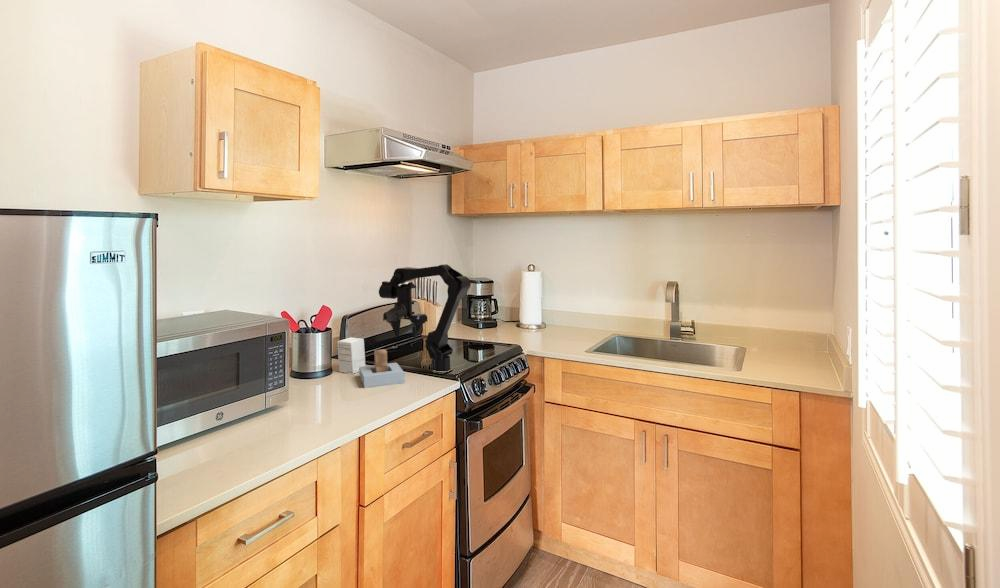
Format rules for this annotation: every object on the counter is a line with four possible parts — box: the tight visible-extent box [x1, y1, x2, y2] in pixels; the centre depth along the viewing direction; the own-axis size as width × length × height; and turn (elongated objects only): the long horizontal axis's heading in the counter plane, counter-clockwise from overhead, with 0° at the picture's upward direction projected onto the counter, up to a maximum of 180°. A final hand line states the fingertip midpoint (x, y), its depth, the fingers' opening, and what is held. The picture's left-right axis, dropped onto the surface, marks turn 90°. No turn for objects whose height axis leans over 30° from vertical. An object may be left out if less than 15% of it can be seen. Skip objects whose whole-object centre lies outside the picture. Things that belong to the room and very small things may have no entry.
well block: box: [358, 362, 405, 389], centre depth 177 cm, size 14×14×4 cm
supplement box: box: [336, 337, 366, 375], centre depth 189 cm, size 7×7×13 cm
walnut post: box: [373, 348, 388, 373], centre depth 177 cm, size 4×4×10 cm
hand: (405, 338), depth 191 cm, fingers open, 9 cm apart
